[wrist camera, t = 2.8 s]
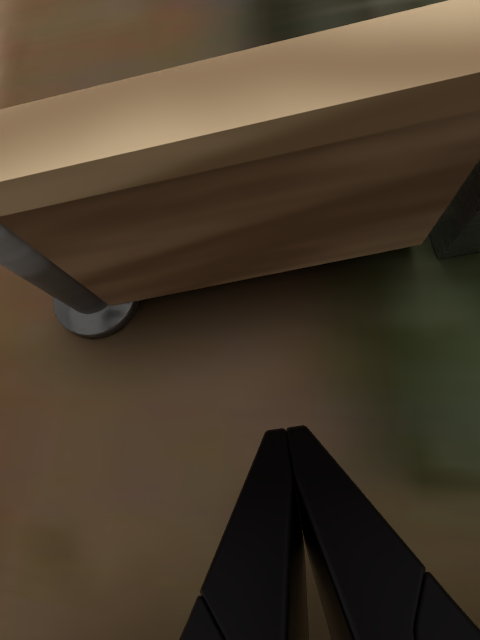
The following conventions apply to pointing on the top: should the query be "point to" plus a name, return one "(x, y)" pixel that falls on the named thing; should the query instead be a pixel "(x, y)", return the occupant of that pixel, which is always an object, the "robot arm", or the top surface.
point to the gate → (244, 161)
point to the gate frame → (446, 236)
